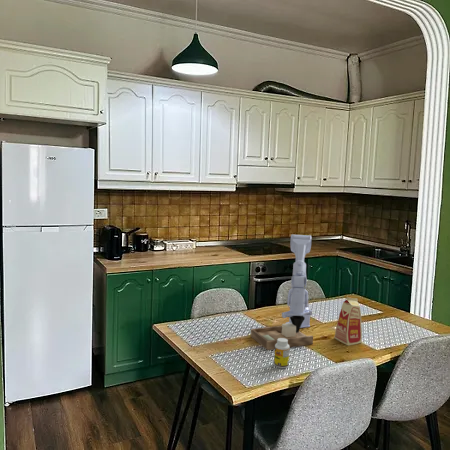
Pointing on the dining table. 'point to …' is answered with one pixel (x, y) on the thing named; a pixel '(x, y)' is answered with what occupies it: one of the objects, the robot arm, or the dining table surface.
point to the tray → (271, 334)
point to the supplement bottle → (281, 353)
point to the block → (288, 330)
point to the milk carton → (349, 323)
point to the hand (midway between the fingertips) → (296, 331)
